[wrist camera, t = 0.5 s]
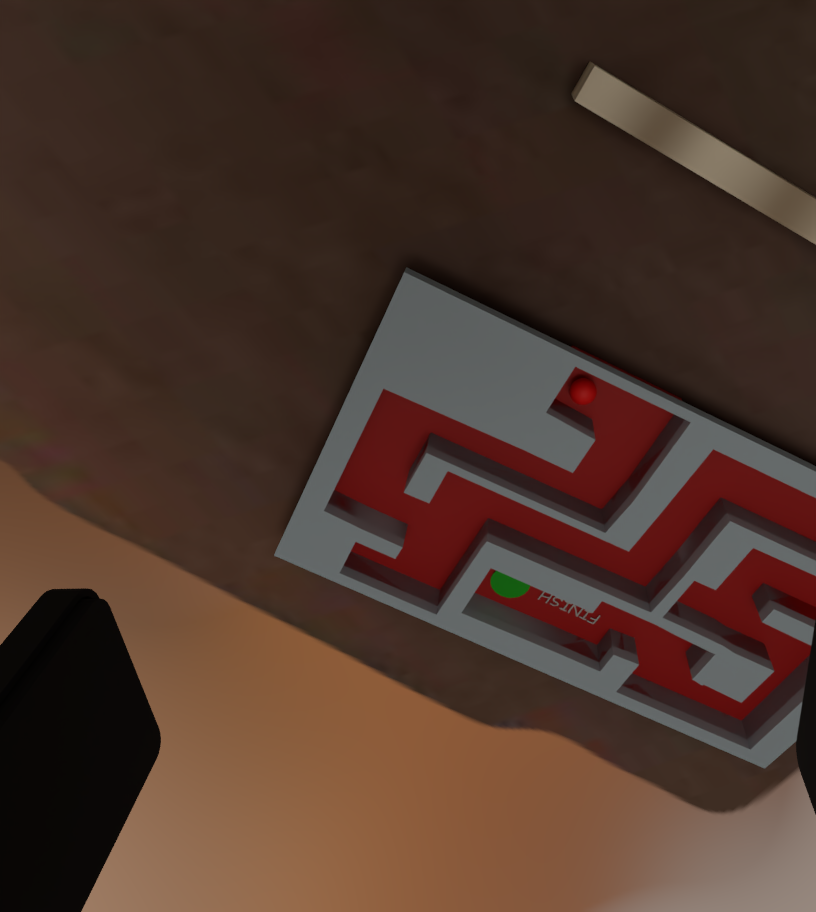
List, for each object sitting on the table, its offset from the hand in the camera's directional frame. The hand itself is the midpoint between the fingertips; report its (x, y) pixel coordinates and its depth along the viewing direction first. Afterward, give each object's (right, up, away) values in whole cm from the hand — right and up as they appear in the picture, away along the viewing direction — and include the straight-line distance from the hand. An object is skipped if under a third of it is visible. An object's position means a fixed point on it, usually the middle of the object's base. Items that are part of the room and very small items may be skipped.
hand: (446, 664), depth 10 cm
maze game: (+12, -1, +37) cm, 39 cm away
